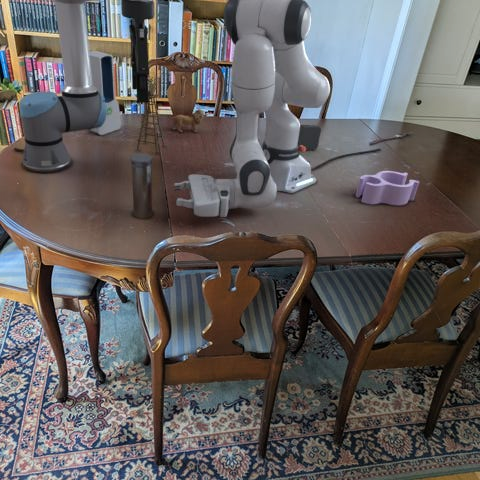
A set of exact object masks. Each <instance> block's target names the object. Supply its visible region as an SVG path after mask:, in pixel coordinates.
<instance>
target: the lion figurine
mask: <svg viewBox="0 0 480 480" xmlns="http://www.w3.org/2000/svg"><path fill="white" fill-rule="evenodd" d="M204 116H205V112H204V110H202V109H199V108H198V109H196V110H195V111H194V112H193V113H191V114H190V115H183V114H178V115H175V117H174V118H173V119H172V124H171V127H170V128H169V131H172V130H176V129H177V130H178V132H179V133H183V130H182V129H181V127H182V124H184V125H186V126H190V129H191V131H193V133H197V132H198V131H197V130H196V129H197V125H200V124H201V123H202V122H203V120H204V118H205V117H204ZM176 126H177V128H176Z"/></svg>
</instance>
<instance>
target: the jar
mask: <svg viewBox="0 0 480 480" xmlns="http://www.w3.org/2000/svg"><path fill="white" fill-rule="evenodd" d="M131 179H132V205H133V206H132V207H133V208H132V209H133V216H134V218H135V217H136V218H138V219H148V218H150V217H152V215H153V164H152V165H150V166H147V167H137V166H134V165H132V164H131Z"/></svg>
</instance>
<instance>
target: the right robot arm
mask: <svg viewBox="0 0 480 480" xmlns="http://www.w3.org/2000/svg"><path fill="white" fill-rule="evenodd" d="M223 25H224V29H225V32H227V35H228V36H229V38H230V39H231V42H232V44H233V45H234V50H233V55H232V64H231V94H232V100H233V104H234V107H235V110H236V112H235V113H236V114H235V116H236V117H235V123H236V124H235V136H234V138H233V140H232V142H231V145H230V146H229V147H230V148H229V157H230V161H231V162H232V164H233V167H234V171H235V174H236V178H214V177H212V175H207V174H197V173H196V174H193V173H192V174H189V175H188V177H187V180H184V181H181V182H175V183H173V190H174V191H181V190H183V189H185V190H188V191H189V195H190V199H184V198H183V197H177V198H175V199H176V200H175V204H176V206H177V207H185V208H187V209H192V211H193V215H194V216H197V217H200V218H201V217H202V218H203V217H204V218H210V217H211V218H214V217H220V218H226V217H227V216H228V213H229V210H232V209H237V208H242V209H262V208H268V207H270V206H272V205H273V204H274V202H275V201H276V198H277V193H278V192H284V193H288V194H294V193H296V192H299V191H301V190H302V189H305V188H307V187H309V186H311V185H313V184H316V183H317V178H316V177H315V176H314V175H313V174H312V171H315V170H318V169H319V168H321V167H322V166H324V165H326V164H328V163H329V162H332V161H334V160H337V159H341V158H344V157H349V156H354V155H361V154H368V153H373V152H378V151H381V150H382V148H376V149H370V150H365V151H358V152H351V153H345V154H342V155H339V156H335V157H332V158H329V159H327V160H325V161H324V162H322V163H320V164H319V165H317V166H315V167H314V168H312V166H311V161H309V160H307V159H305V158H304V157H303V156H302V155H301V154H300V152H301V153H305V152H306V151H307V150H306V148H305V147H304V146H303V145H300V146H299V145H298V144H297V143H298V137H299V131H300V125H301V123H300V120H299V119H298V117H297V116H295V114H293V113H292V112H291V110H290V109H289V106H288V105H291V106H296V107H300V108H305V109H319V108H321V107H322V106H323V105H324V104H325V103H326V102H327V100H328V98H329V96H330V92H331V85H330V82H329V80H328V78H327V76H325V75H324V74H322V73H321V72H320V71H319V70H318V69H317V68H316V67H315V66H314V64H313V63H312V61H311V60H310V58H309V57H308V55H307V52H306V48H305V40H306V39H307V37H308V34H309V32H310V30H311V25H312V10H311V7H310V6H309V3H308V2H306V0H227V1H226V3H225V5H224V10H223ZM263 113H265V133H264V140H263V142H262V144H261V142H260V141H261V140H260V139H259V138H258V130H259V129H258V126H259V115H260V114H261V115H262V114H263Z"/></svg>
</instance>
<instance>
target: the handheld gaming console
mask: <svg viewBox="0 0 480 480" xmlns="http://www.w3.org/2000/svg"><path fill="white" fill-rule="evenodd" d="M321 133H322V127H321V126H319V125H318V124H300V131H299V137H298V143H297V144H298V145H299V146H300V145H303V146H304V147H305V148H306V151H312V150H317V148H318V147H319V144H320V137H321Z"/></svg>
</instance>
